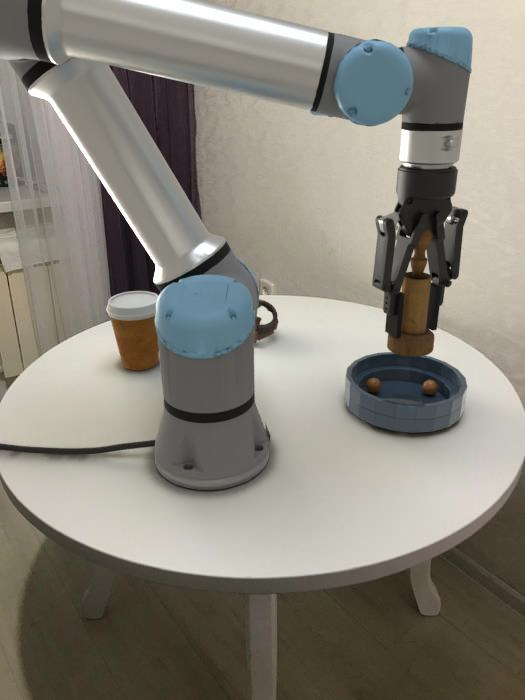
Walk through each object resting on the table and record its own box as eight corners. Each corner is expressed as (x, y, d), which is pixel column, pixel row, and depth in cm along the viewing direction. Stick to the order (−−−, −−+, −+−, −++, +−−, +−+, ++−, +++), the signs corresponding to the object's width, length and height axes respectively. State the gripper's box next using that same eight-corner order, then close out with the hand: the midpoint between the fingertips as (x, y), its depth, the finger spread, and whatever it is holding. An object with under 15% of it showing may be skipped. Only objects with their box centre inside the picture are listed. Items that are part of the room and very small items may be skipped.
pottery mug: (272, 325, 121) (283, 299, 115) (269, 362, 115) (280, 336, 109) (215, 312, 119) (222, 285, 113) (208, 349, 113) (216, 322, 107)
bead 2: (427, 399, 91) (429, 385, 90) (418, 392, 93) (419, 378, 92) (440, 396, 92) (442, 382, 91) (430, 389, 94) (432, 375, 92)
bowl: (388, 449, 80) (391, 417, 78) (324, 392, 95) (325, 364, 92) (488, 420, 87) (493, 390, 84) (413, 370, 101) (416, 344, 99)
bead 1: (371, 396, 91) (372, 383, 90) (362, 390, 93) (363, 376, 92) (383, 393, 92) (385, 380, 91) (375, 387, 94) (376, 373, 93)
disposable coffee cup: (103, 362, 105) (94, 298, 100) (149, 346, 111) (143, 286, 106) (130, 380, 99) (122, 313, 94) (178, 363, 104) (173, 299, 99)
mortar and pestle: (416, 336, 90) (428, 218, 83) (442, 353, 85) (458, 228, 77) (378, 343, 88) (387, 223, 80) (402, 360, 83) (415, 234, 75)
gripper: (384, 173, 69) (371, 352, 79) (505, 163, 76) (479, 328, 86) (350, 165, 75) (341, 332, 85) (464, 156, 82) (444, 311, 92)
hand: (410, 330), depth 85 cm, fingers closed on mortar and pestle, 6 cm apart
